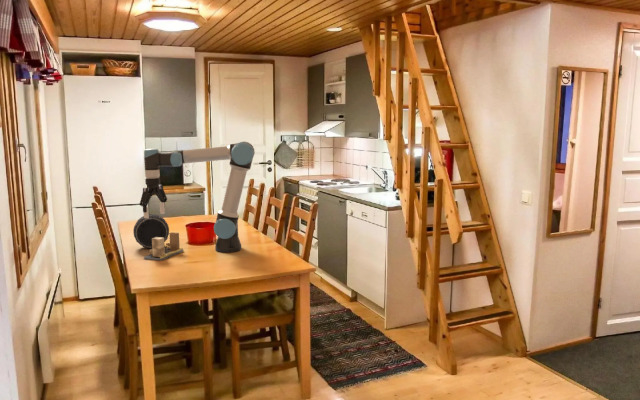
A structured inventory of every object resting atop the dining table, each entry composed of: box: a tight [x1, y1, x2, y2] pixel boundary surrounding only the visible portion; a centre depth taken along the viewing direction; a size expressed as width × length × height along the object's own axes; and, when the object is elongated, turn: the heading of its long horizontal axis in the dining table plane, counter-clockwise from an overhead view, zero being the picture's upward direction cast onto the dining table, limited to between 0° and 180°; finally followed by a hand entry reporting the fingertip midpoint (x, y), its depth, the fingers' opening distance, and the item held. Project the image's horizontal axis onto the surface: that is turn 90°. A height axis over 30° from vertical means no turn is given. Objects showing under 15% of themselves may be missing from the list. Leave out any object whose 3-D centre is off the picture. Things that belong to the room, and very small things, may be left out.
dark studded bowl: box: [133, 213, 170, 249], centre depth 300 cm, size 11×20×20 cm, turn 110°
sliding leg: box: [148, 237, 166, 257], centre depth 277 cm, size 8×4×10 cm, turn 72°
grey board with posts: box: [143, 231, 184, 262], centre depth 284 cm, size 11×21×11 cm, turn 162°
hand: (154, 215), depth 277 cm, fingers open, 13 cm apart
